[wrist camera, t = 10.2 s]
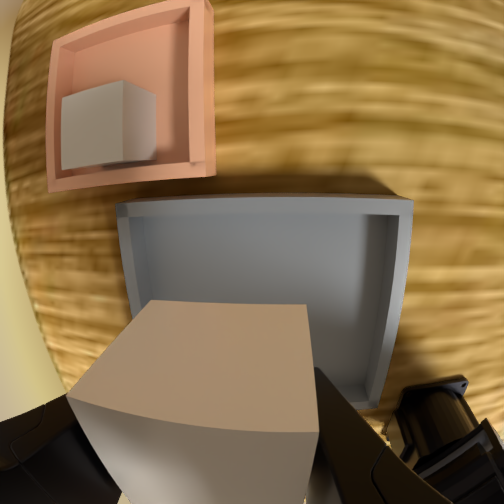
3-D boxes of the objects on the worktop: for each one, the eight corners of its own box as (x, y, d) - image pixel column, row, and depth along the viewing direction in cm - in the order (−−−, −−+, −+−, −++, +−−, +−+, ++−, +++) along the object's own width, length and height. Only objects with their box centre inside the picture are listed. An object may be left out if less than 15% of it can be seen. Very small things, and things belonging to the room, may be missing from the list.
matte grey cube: (156, 94, 15) (123, 79, 12) (156, 159, 17) (123, 160, 13) (100, 106, 16) (61, 97, 12) (101, 166, 17) (61, 170, 13)
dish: (213, 11, 14) (204, -7, 12) (216, 174, 17) (205, 176, 15) (72, 48, 15) (53, 41, 13) (70, 188, 18) (48, 193, 16)
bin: (398, 195, 16) (413, 200, 14) (370, 386, 20) (377, 408, 18) (134, 198, 18) (115, 203, 16) (163, 380, 22) (152, 399, 20)
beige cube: (306, 304, 7) (319, 431, 3) (297, 417, 8) (296, 528, 5) (151, 299, 8) (65, 395, 4) (174, 407, 9) (131, 503, 5)
